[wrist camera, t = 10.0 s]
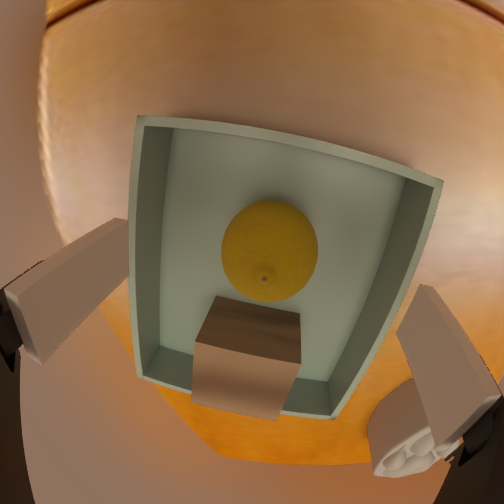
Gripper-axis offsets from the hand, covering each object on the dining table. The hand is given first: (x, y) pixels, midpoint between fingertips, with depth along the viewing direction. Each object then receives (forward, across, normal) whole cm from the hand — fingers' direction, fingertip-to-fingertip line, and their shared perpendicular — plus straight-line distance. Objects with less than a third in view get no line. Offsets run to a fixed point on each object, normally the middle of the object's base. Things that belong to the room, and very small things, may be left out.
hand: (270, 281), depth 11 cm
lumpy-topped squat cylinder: (+10, +22, -19) cm, 30 cm away
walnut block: (+9, 0, -11) cm, 14 cm away
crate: (+10, 0, -5) cm, 11 cm away
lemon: (+9, 0, -1) cm, 9 cm away
